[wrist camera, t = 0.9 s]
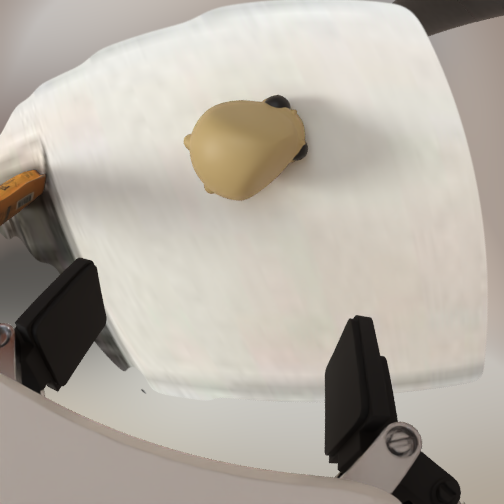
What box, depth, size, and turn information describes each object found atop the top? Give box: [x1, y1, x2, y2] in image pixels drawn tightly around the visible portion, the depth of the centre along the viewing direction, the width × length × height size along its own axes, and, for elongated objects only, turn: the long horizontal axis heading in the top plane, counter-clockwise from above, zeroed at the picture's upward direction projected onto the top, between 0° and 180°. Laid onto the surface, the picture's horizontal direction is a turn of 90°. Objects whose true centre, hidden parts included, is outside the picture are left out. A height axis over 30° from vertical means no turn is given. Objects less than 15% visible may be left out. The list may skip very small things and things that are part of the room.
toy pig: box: [184, 95, 308, 201], centre depth 29 cm, size 10×12×11 cm
